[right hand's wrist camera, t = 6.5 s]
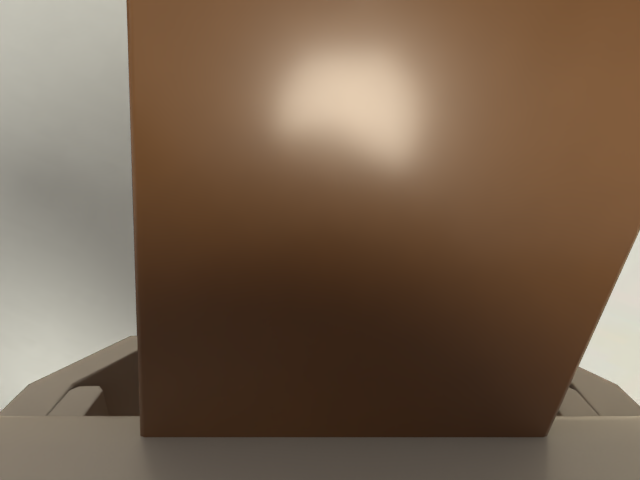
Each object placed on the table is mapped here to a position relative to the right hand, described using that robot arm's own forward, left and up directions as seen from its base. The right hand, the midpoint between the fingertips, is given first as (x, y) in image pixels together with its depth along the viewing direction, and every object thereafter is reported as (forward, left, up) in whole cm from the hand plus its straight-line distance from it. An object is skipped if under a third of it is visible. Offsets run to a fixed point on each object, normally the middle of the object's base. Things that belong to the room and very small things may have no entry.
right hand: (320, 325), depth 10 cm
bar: (+6, +4, -3) cm, 8 cm away
